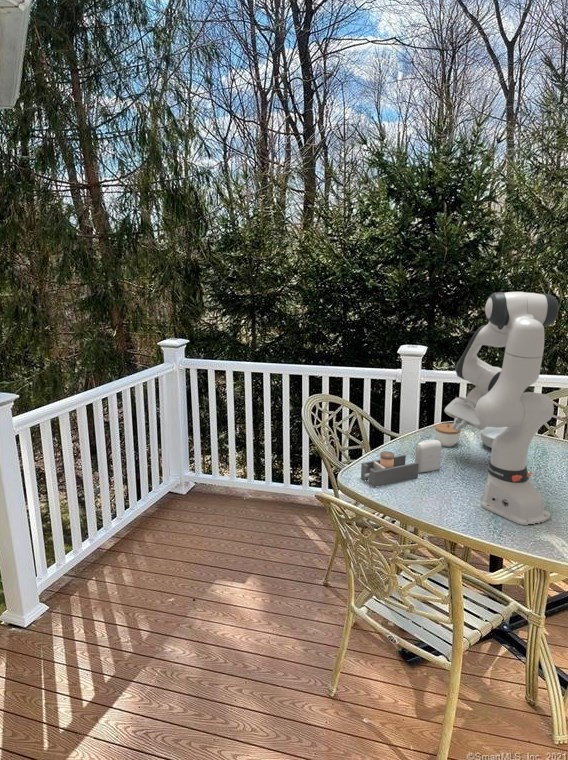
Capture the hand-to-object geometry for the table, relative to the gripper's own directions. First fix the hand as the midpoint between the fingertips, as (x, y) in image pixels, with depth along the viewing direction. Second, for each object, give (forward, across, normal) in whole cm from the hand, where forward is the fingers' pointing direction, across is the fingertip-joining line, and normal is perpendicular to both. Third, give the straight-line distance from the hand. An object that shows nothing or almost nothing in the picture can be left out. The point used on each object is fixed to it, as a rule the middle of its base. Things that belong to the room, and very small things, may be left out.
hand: (454, 429), depth 210 cm
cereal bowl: (-11, -5, +32) cm, 35 cm away
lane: (+31, 0, -10) cm, 33 cm away
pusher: (+37, 0, -16) cm, 40 cm away
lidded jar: (+2, -18, +20) cm, 27 cm away
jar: (+33, 0, -12) cm, 35 cm away
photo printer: (+19, 0, +2) cm, 19 cm away
